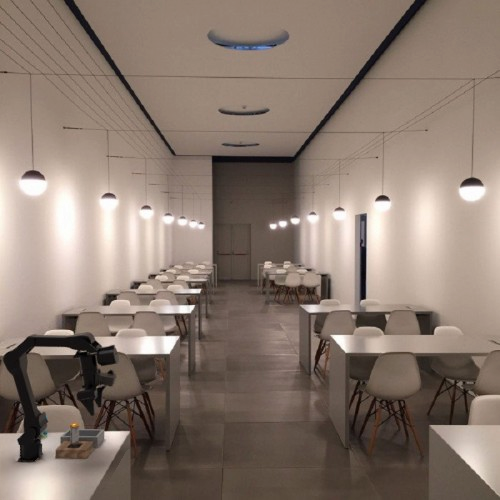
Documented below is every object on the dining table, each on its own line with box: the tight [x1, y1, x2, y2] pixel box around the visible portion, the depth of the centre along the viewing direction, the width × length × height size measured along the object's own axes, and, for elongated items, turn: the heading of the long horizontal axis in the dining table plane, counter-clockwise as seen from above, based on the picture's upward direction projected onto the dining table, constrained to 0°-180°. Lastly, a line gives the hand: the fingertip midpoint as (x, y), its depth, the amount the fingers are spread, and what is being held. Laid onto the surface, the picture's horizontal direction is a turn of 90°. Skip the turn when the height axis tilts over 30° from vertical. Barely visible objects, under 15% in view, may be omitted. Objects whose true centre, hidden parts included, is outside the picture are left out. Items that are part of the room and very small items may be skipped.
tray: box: [59, 428, 105, 449], centre depth 197 cm, size 14×8×4 cm, turn 88°
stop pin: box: [69, 421, 80, 448], centre depth 188 cm, size 3×3×11 cm
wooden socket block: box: [54, 441, 95, 459], centre depth 188 cm, size 11×8×3 cm
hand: (96, 411), depth 185 cm, fingers open, 9 cm apart
